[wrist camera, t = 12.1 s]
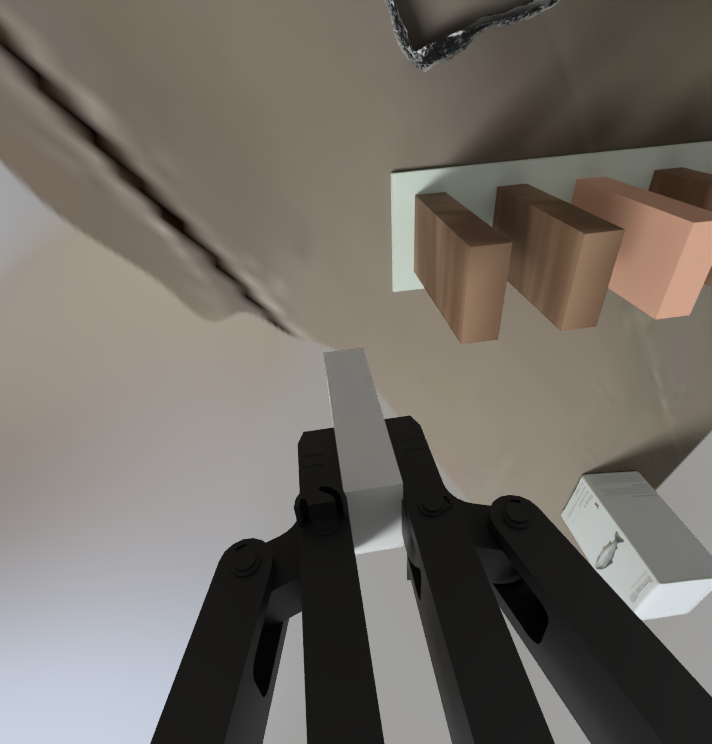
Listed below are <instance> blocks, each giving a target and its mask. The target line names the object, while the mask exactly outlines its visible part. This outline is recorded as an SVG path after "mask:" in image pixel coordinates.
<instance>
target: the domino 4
mask: <svg viewBox="0 0 712 744" xmlns="http://www.w3.org/2000/svg"><path fill="white" fill-rule="evenodd" d="M648 191H651V192H654V193H657V194H660V195H663V196H666V197H669V198H672V199H675V200H678V201H681V202H684V203H687V204H690V205H693V206H696V207H699V208H702V209H705V210H708V211H711V212H712V174H708V173H704V172H700V171H696V170H692V169H688V168H684V167H679V168H669V169H660V170H655V171H654V174H653V177H652V180H651V183H650V186H649V190H648ZM704 283H705V284H707V285H709V286H711V287H712V266H711V268H710V270H709V273H708V275H707V277H706V279H705V282H704Z"/></svg>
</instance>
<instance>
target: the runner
mask: <svg viewBox="0 0 712 744" xmlns="http://www.w3.org/2000/svg"><path fill="white" fill-rule="evenodd" d="M679 167H684V168H688V169H692V170H696V171H700V172H704V173H708V174H712V141H705V142H695V143H685V144H675V145H665V146H655V147H645V148H635V149H625V150H615V151H605V152H595V153H585V154H575V155H565V156H555V157H545V158H535V159H525V160H515V161H505V162H495V163H485V164H475V165H465V166H455V167H445V168H435V169H425V170H415V171H405V172H395V173H391V220H392V284H393V292H398V291H406V290H414V289H423V288H424V286H423V285H422V283H421V282H420V280H419V279H418V277H417V276H416V274H415V273H414V226H415V195H420V194H430V193H440V192H446V193H447V194H449V195H450V196H451V197H453V198H454V199H455V200H457V201H458V202H459V203H461V204H462V205H463V206H465V207H466V208H467V209H469V210H470V211H471V212H473V213H474V214H475V215H477V216H478V217H479V218H481V219H482V220H483V221H485V222H486V223H487V224H489V225H490V226H491V227H492V226H493V218H494V209H495V201H496V193H497V186H507V185H516V184H526V183H527V184H529V185H531V186H533V187H535V188H538V189H540V190H542V191H544V192H546V193H548V194H550V195H553V196H555V197H557V198H559V199H561V200H563V201H565V202H568V203H570V204H571V202H572V198H573V193H574V189H575V184H576V180H577V179H584V178H594V177H604V176H605V177H608V178H611V179H614V180H617V181H620V182H623V183H626V184H629V185H632V186H636V187H639V188H642V189H645V190H649V186H650V183H651V180H652V177H653V174H654V171H655V170H660V169H669V168H679Z"/></svg>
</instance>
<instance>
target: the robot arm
mask: <svg viewBox="0 0 712 744" xmlns="http://www.w3.org/2000/svg"><path fill="white" fill-rule="evenodd" d="M324 362H325V370H326V377H327V385H328V392H329V400H330V408H331V414H332V422H333V428H328V429H321V430H315V431H307V432H303V435H302V436H301V439H300V441H299V443H298V458H299V459H298V461H299V485H300V494H299V495H298V496H297V498H296V500H295V505H294V510H295V514H296V519H297V521H296V523H295V524H294V525H293V527H292V528H291V529H289V530H288V531H287V532H286V533H284V534H282V535H281V536H279V537H277V538H275V539H273V540H271V541H269V542H266V543H265V542H264V541H262V540H258V539H255V538H251V539H244V540H241V541H239V542H237V543H235V544H233V545H232V546H231V547H230V548H228V549H227V550H226V551H225V552H224V554H223V556H222V557H221V559H220V561H219V563H218V566H217V568H216V571H215V574H214V576H213V579H212V582H211V584H210V587H209V590H208V592H207V595H206V598H205V600H204V603H203V606H202V609H201V611H200V614H199V616H198V619H197V621H196V624H195V627H194V629H193V632H192V635H191V638H190V640H189V643H188V645H187V648H186V650H185V653H184V656H183V658H182V661H181V664H180V666H179V669H178V672H177V674H176V677H175V680H174V682H173V685H172V688H171V690H170V693H169V695H168V698H167V701H166V704H165V706H164V709H163V711H162V714H161V717H160V719H159V722H158V725H157V728H156V730H155V733H154V735H153V738H152V741H151V743H150V744H263V739H264V734H265V729H266V725H267V720H268V715H269V710H270V706H271V701H272V697H273V692H274V687H275V682H276V677H277V673H278V668H279V664H280V659H281V654H282V649H283V645H284V640H285V635H286V630H287V626H288V621H289V618H290V617H292V616H294V615H296V614H298V613H299V612H301V611H302V620H303V621H302V623H303V647H304V673H305V697H306V698H305V699H306V724H307V744H384V738H383V732H382V725H381V719H380V712H379V706H378V699H377V694H376V687H375V680H374V674H373V667H372V660H371V654H370V648H369V642H368V635H367V628H366V622H365V615H364V609H363V602H362V596H361V590H360V583H359V578H358V570H357V564H356V557H355V554H361V553H367V552H372V551H378V550H384V549H390V548H396V547H402V546H403V540H404V543H405V547H406V551H407V580H411V582H412V586H413V589H414V594H415V597H416V602H417V606H418V609H419V614H420V618H421V621H422V625H423V629H424V633H425V637H426V641H427V645H428V649H429V653H430V657H431V661H432V665H433V669H434V673H435V677H436V681H437V685H438V689H439V693H440V696H441V701H442V704H443V708H444V712H445V717H446V721H447V725H448V728H449V732H450V737H451V741H452V744H555V743H554V741H553V738H552V736H551V733H550V731H549V728H548V726H547V723H546V721H545V718H544V716H543V713H542V711H541V708H540V706H539V704H538V701H537V699H536V696H535V694H534V691H533V689H532V686H531V684H530V681H529V679H528V676H527V674H526V671H525V669H524V666H523V664H522V662H521V659H520V657H519V654H518V652H517V649H516V647H515V644H514V642H513V639H512V637H511V634H510V632H509V630H508V628H507V625H506V622H505V620H504V617H503V615H502V612H501V610H500V608H501V609H502V611H503V612H504V614H505V615H506V617H507V618H508V620H509V621H510V623H511V624H512V626H513V627H514V629H515V630H516V632H517V633H518V635H519V636H520V638H521V639H522V641H523V642H524V644H525V645H526V647H527V648H528V650H529V651H530V653H531V654H532V656H533V657H534V659H535V660H536V662H537V663H538V665H539V666H540V667H541V669H542V671H543V672H544V674H545V675H546V677H547V678H548V680H549V681H550V683H551V684H552V686H553V687H554V689H555V690H556V692H557V693H558V695H559V696H560V698H561V699H562V701H563V702H564V704H565V705H566V707H567V708H568V710H569V711H570V713H571V714H572V716H573V717H574V719H575V720H576V722H577V723H578V725H579V726H580V728H581V729H582V731H583V732H584V734H585V735H586V736H587V738H588V740H589V741H590V743H591V744H712V697H711V696H710V695H709V694H708V693H707V692H706V690H705V689H704V688H703V687H702V686H701V685H700V684H699V683H698V682H697V681H696V679H695V678H694V677H692V675H691V674H690V673H689V672H688V671H687V670H686V669H685V667H684V666H683V665H682V664H681V663H680V662H679V661H678V660H677V659H676V658H675V657H674V655H673V654H672V653H671V652H670V651H669V650H668V649H667V648H666V647H665V646H664V645H663V643H662V642H661V641H660V640H659V639H658V638H657V637H656V636H655V635H654V634H653V632H652V631H651V630H650V629H649V628H648V627H647V626H646V625H645V624H644V623H643V622H642V620H641V619H640V618H639V617H638V616H637V615H636V614H635V613H634V612H633V611H632V610H631V608H630V607H629V606H628V605H627V604H626V603H625V602H624V601H623V600H622V599H621V597H620V596H619V595H618V594H617V593H616V592H615V591H614V590H613V589H612V588H611V587H610V585H609V584H608V583H607V582H606V581H605V580H604V579H603V578H602V577H601V576H600V575H599V573H598V572H597V571H596V570H595V569H594V568H593V567H592V566H591V565H590V564H589V563H588V561H587V560H586V559H585V558H584V557H583V556H582V555H581V554H580V553H579V552H578V550H577V549H576V548H575V547H574V546H573V545H572V544H571V543H570V542H569V541H568V540H567V538H566V537H565V536H564V535H563V534H562V533H561V532H560V531H559V530H558V529H557V528H556V526H555V525H554V524H553V523H552V522H551V521H550V520H549V519H548V518H547V517H546V516H545V514H544V513H543V512H542V511H541V510H540V509H539V508H538V507H537V506H536V505H535V504H533V503H532V502H531V501H530V500H527V499H525V498H522V497H520V496H513V495H507V496H502V497H499V498H498V499H496V500H495V501H493V503H492V505H491V506H489V505H481V504H473V503H468V502H464V501H462V500H460V499H457V498H456V497H454V496H453V495H452V494H451V493H449V492H448V490H447V489H446V488H445V486H444V484H443V482H442V479H441V477H440V474H439V472H438V469H437V466H436V464H435V461H434V459H433V456H432V454H431V451H430V449H429V446H428V444H427V441H426V439H425V436H424V433H423V431H422V428H421V426H420V424H418V423H417V422H416V421H415V420H414V419H413V418H412V417H411V416H404V417H397V418H390V419H384V417H383V414H382V411H381V407H380V404H379V401H378V397H377V394H376V390H375V387H374V383H373V380H372V377H371V373H370V370H369V367H368V363H367V360H366V356H365V353H364V350H363V348H357V349H349V350H342V351H334V352H326V353H324ZM499 606H500V607H499Z"/></svg>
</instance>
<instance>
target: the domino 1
mask: <svg viewBox="0 0 712 744" xmlns="http://www.w3.org/2000/svg"><path fill="white" fill-rule="evenodd" d="M512 243H513V242H511V241H510V240H509V239H507V238H506V237H505V236H503V235H502V234H501V233H499V232H498V231H497V230H495V229H494V228H493V227H491V226H490V225H489V224H487V223H486V222H485V221H483V220H482V219H481V218H479V217H478V216H477V215H475V214H474V213H473V212H471V211H470V210H469V209H467V208H466V207H465V206H463V205H462V204H461V203H459V202H458V201H457V200H455V199H454V198H453V197H451V196H450V195H449V194H447V193H446V192H440V193H430V194H420V195H415V226H414V273H415V274H416V276H417V277H418V279H419V280H420V282H421V283H422V285H423V286H424V288H425V289H426V291H427V293H428V294H429V296H430V297H431V299H432V300H433V302H434V303H435V305H436V306H437V308H438V309H439V311H440V313H441V314H442V316H443V317H444V319H445V320H446V322H447V323H448V325H449V326H450V328H451V329H452V331H453V332H454V334H455V336H456V337H457V339H458V340H459V342H460V343H461V344H467V343H475V342H482V341H490V340H497V339H498V335H499V329H500V322H501V315H502V309H503V302H504V296H505V289H506V282H507V276H508V269H509V263H510V256H511V249H512Z"/></svg>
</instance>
